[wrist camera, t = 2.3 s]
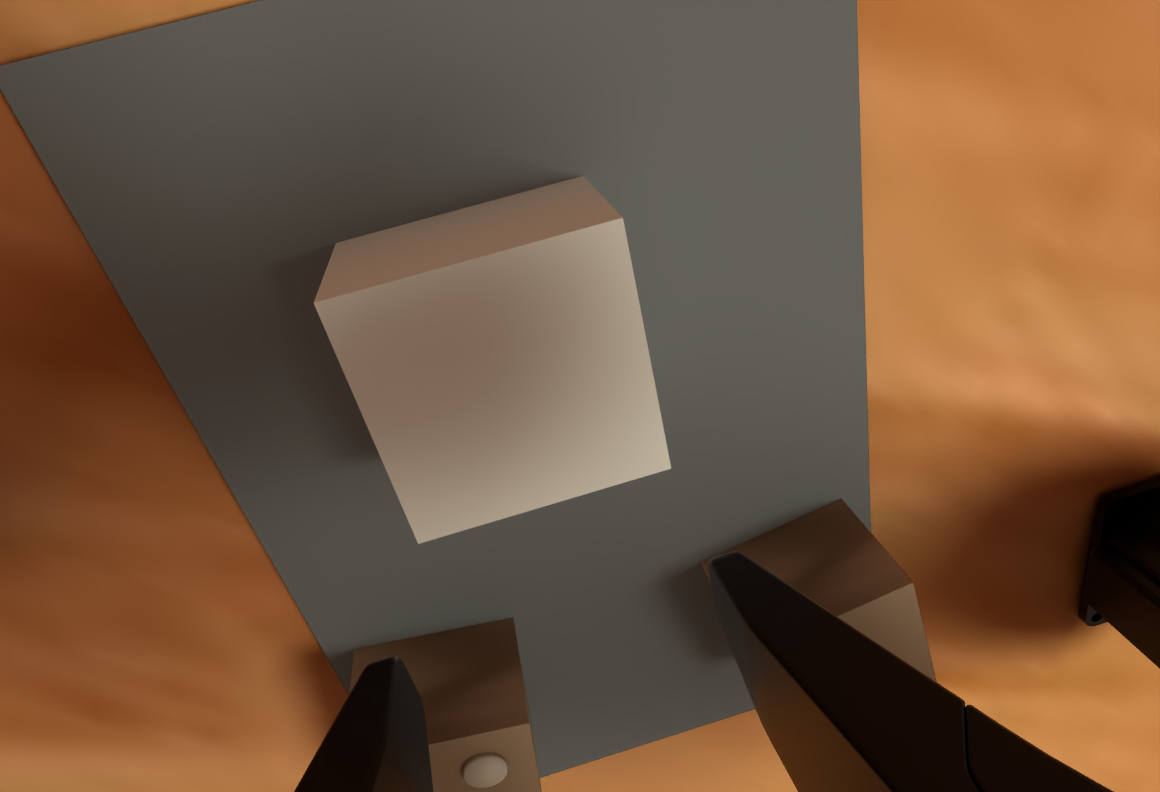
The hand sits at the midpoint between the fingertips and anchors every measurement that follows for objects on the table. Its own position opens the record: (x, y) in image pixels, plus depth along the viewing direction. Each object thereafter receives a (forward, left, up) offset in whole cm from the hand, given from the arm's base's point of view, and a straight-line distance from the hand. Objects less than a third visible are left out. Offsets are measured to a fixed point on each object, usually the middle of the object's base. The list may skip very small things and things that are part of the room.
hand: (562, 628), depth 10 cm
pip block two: (+5, +12, -11) cm, 17 cm away
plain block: (0, 0, -11) cm, 11 cm away
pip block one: (-7, +12, -11) cm, 17 cm away
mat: (-1, +5, -11) cm, 12 cm away
